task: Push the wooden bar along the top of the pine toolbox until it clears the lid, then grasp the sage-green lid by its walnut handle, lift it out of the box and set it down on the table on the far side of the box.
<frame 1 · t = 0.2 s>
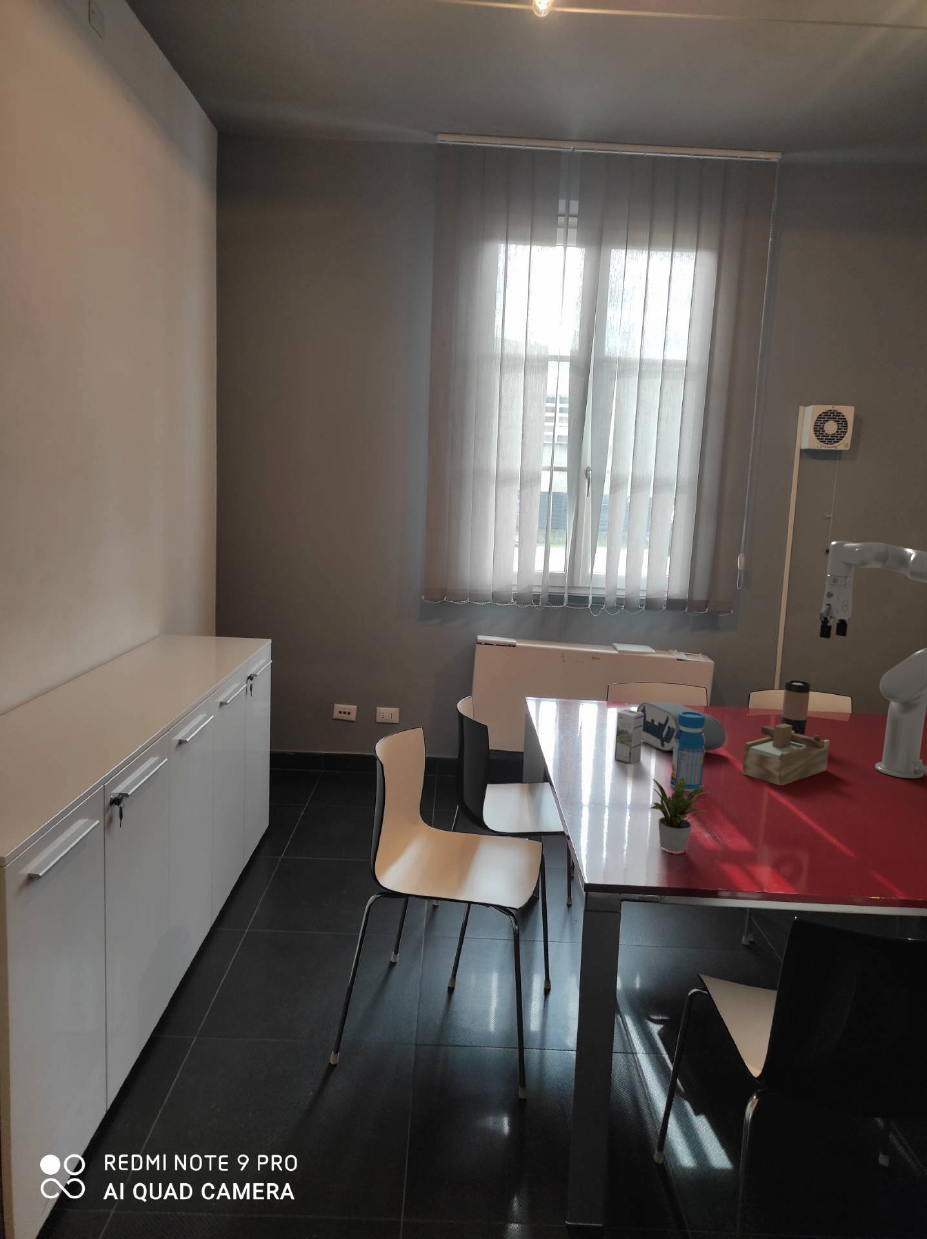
hand: (832, 636, 264), 37 cm above the table, tool pointing down, fingers open, 9 cm apart
wooden bar: (792, 734, 246), point 11 cm above the table, slide at 0.0 cm
syrup box: (627, 760, 251), on the table
house plant: (677, 853, 186), on the table
grey hat: (678, 746, 268), on the table
toolbox: (778, 774, 244), on the table
beverage bottle: (685, 787, 229), on the table
lid: (780, 750, 243), point 7 cm above the table, touching toolbox
travel mug: (791, 743, 277), on the table
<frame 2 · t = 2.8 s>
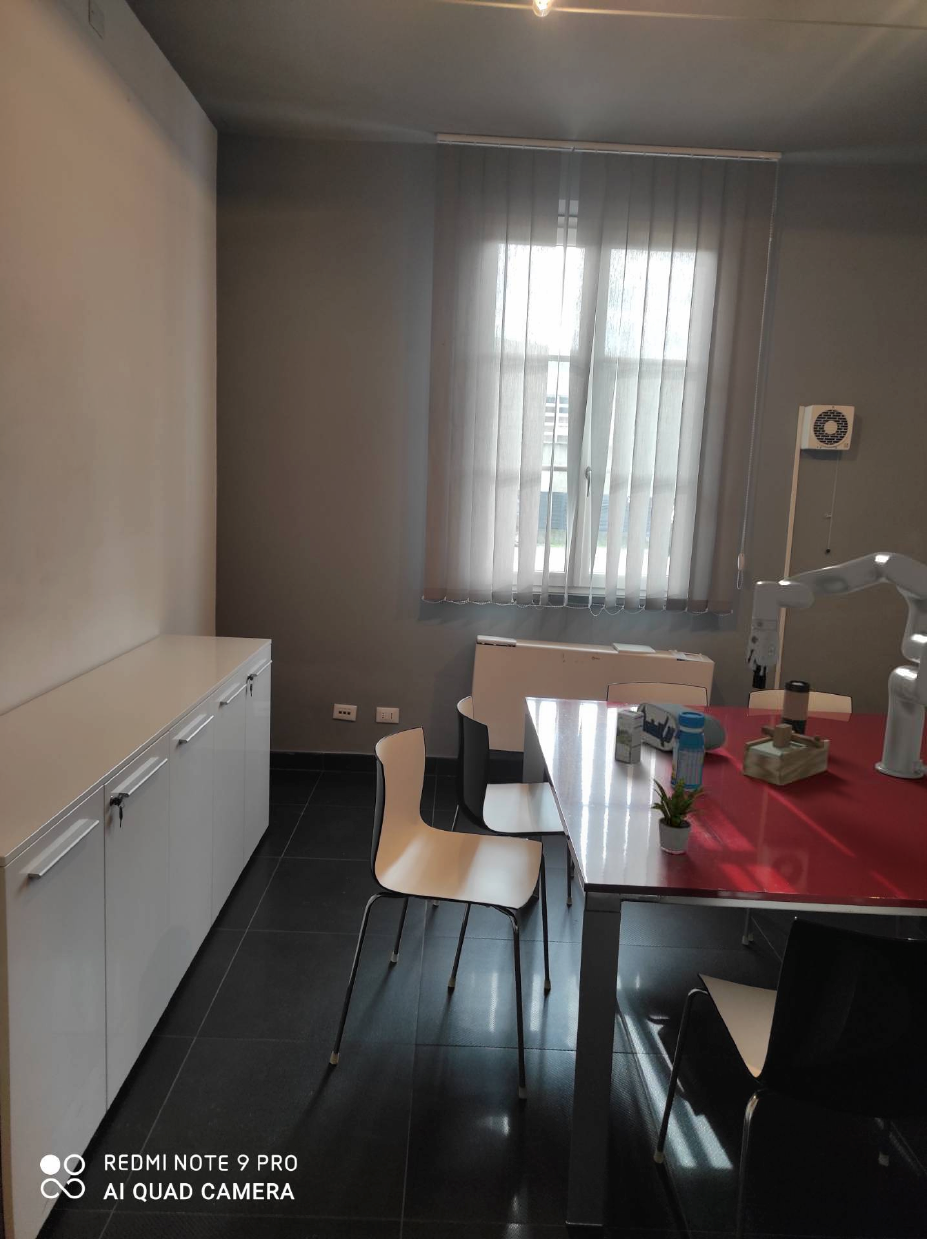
hand: (758, 688, 245), 24 cm above the table, tool pointing down, fingers closed
nothing on the table moved.
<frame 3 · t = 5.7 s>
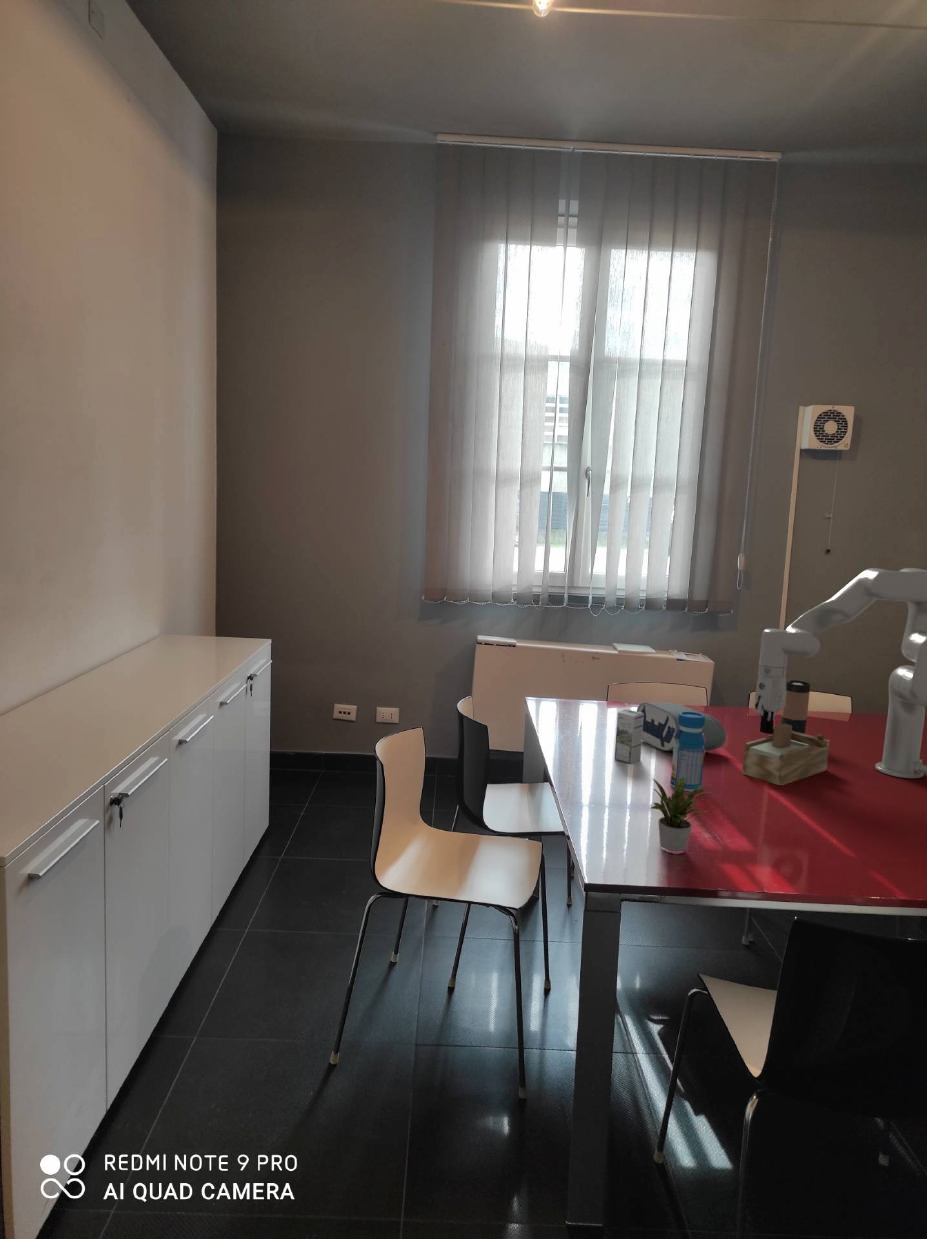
hand: (766, 732, 251), 10 cm above the table, tool pointing down, fingers closed
wooden bar: (795, 734, 247), point 11 cm above the table, slide at 1.6 cm, touching gripper
everything else where it was.
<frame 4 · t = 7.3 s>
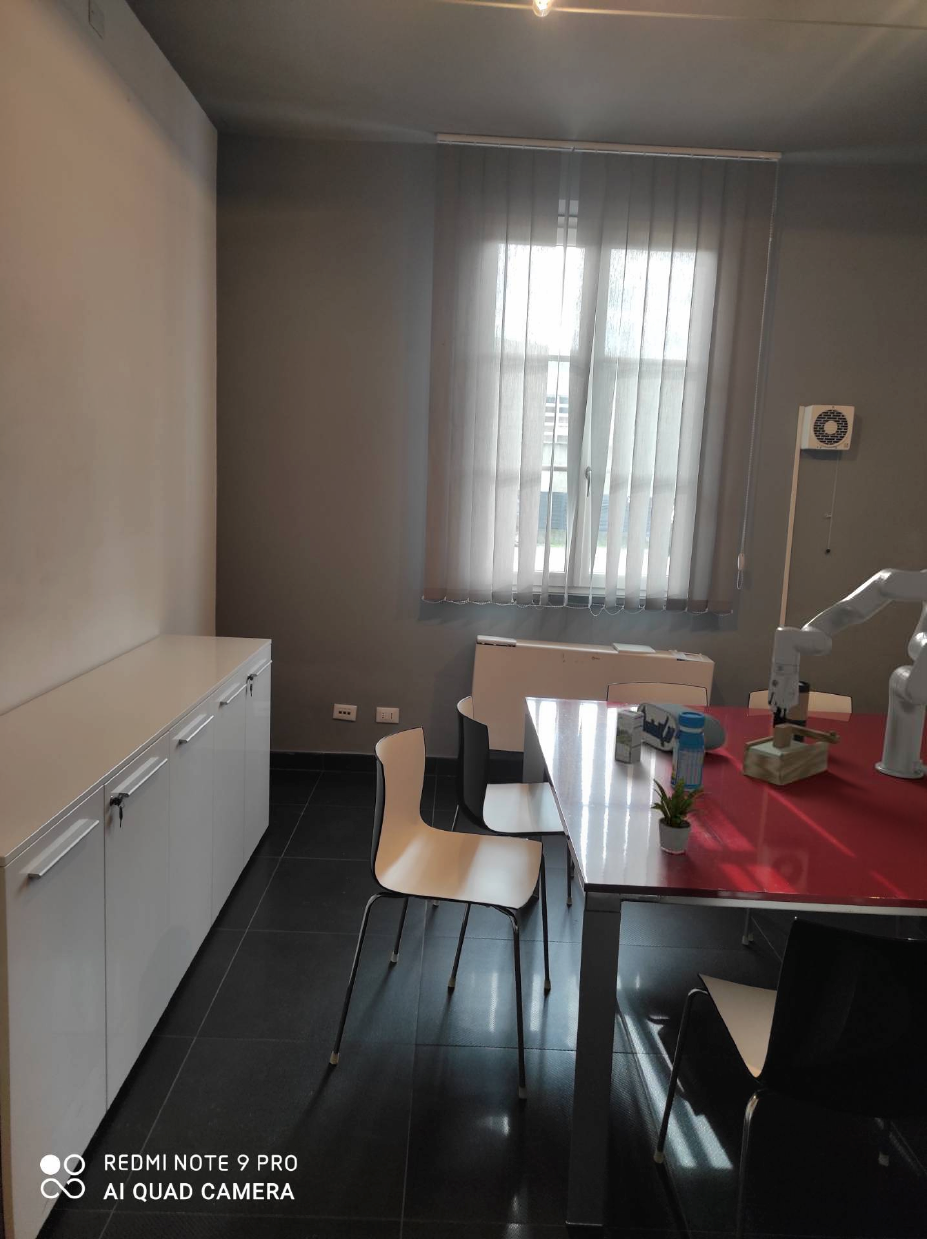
hand: (778, 728, 256), 10 cm above the table, tool pointing down, fingers closed
wooden bar: (807, 730, 252), point 11 cm above the table, slide at 8.8 cm, touching gripper
everything else where it was.
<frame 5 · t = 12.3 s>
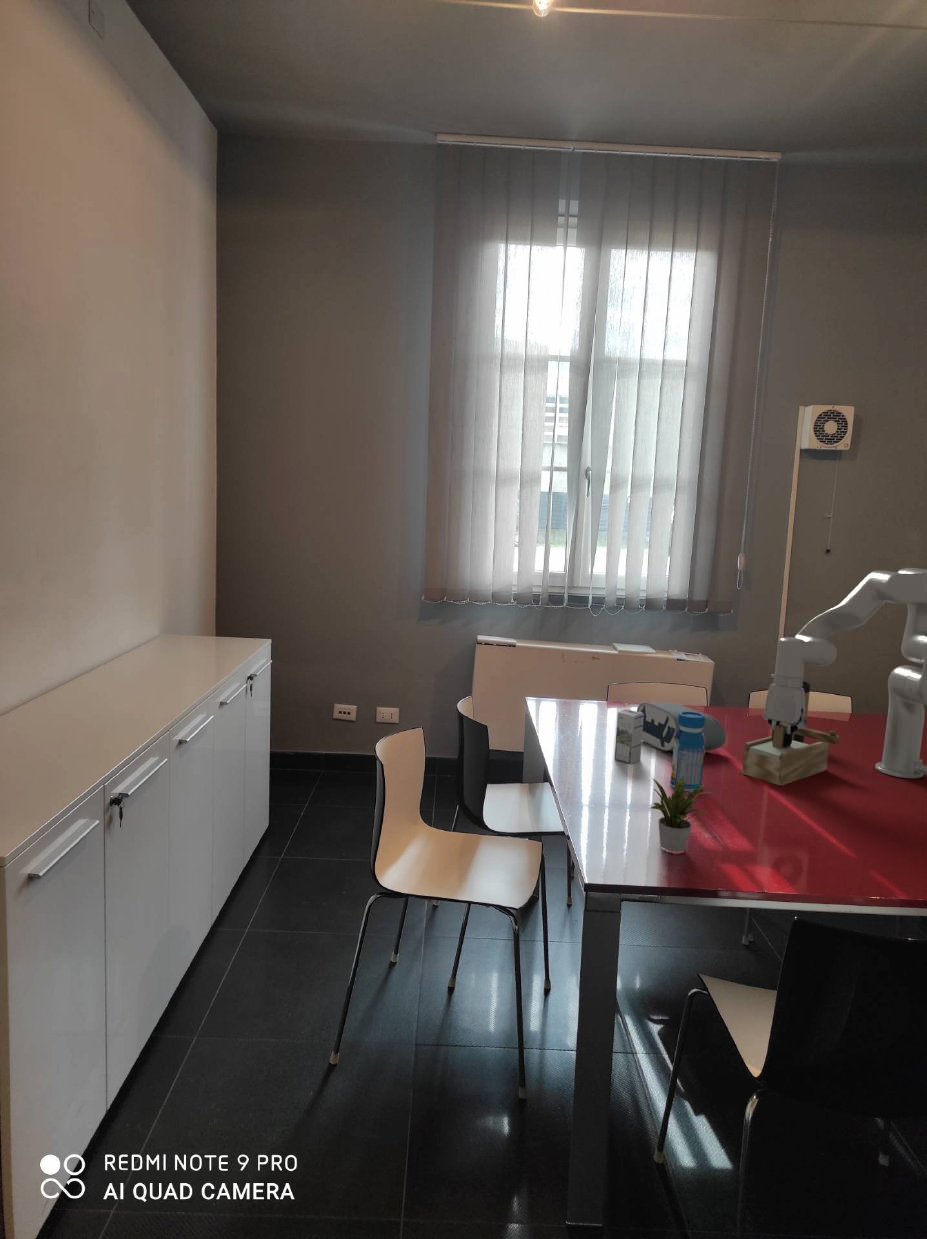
hand: (781, 744, 243), 9 cm above the table, tool pointing down, fingers closed on lid, 2 cm apart
wooden bar: (807, 730, 252), point 11 cm above the table, slide at 8.9 cm
lid: (780, 750, 243), point 7 cm above the table, touching gripper, toolbox
everything else where it was.
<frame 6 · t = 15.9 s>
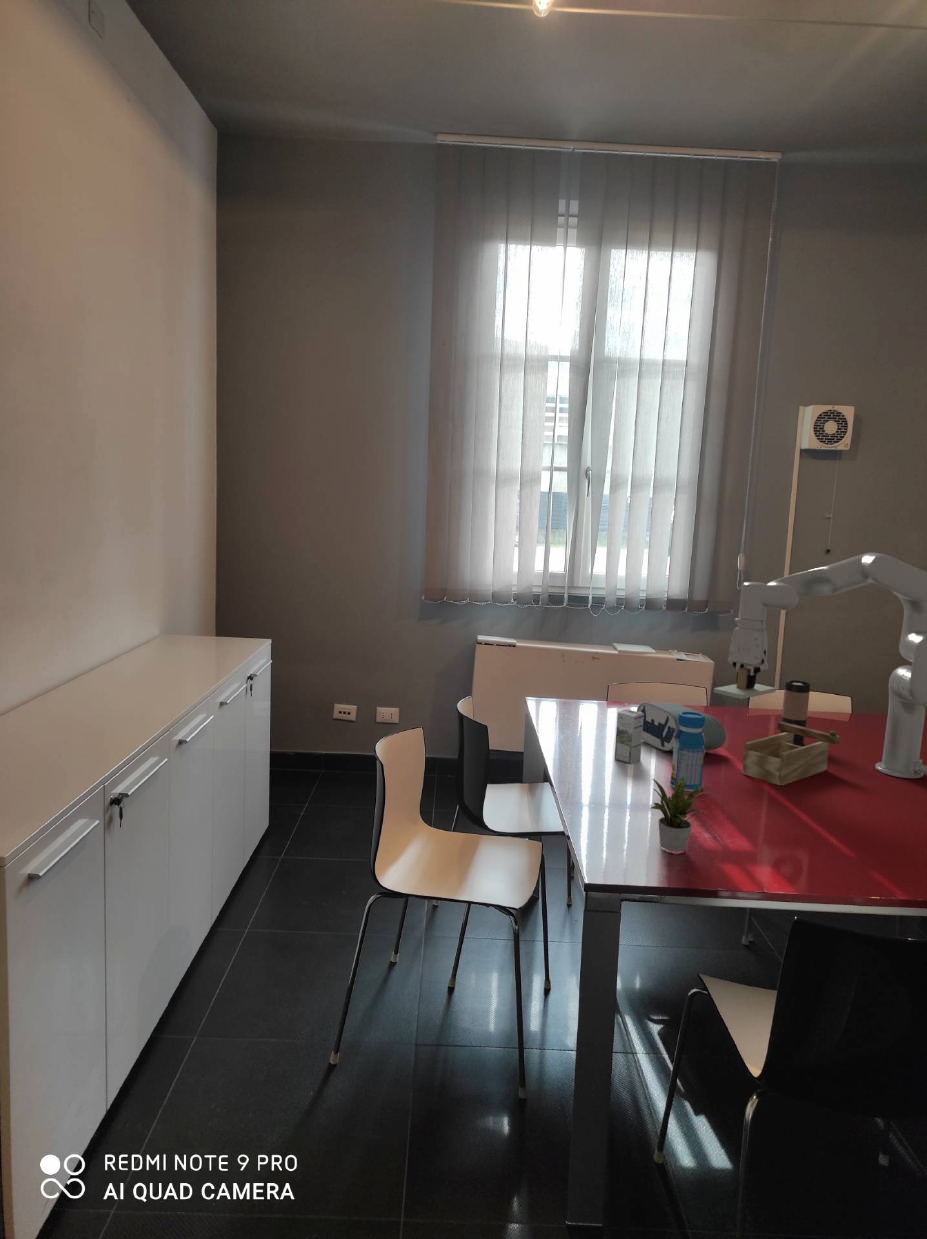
hand: (745, 686, 251), 23 cm above the table, tool pointing down, fingers closed on lid, 2 cm apart
lid: (744, 692, 251), point 21 cm above the table, touching gripper
everything else where it was.
when the fingers open (4 cm above the table, at t = 19.4 s): lid drops 2 cm, on the table.
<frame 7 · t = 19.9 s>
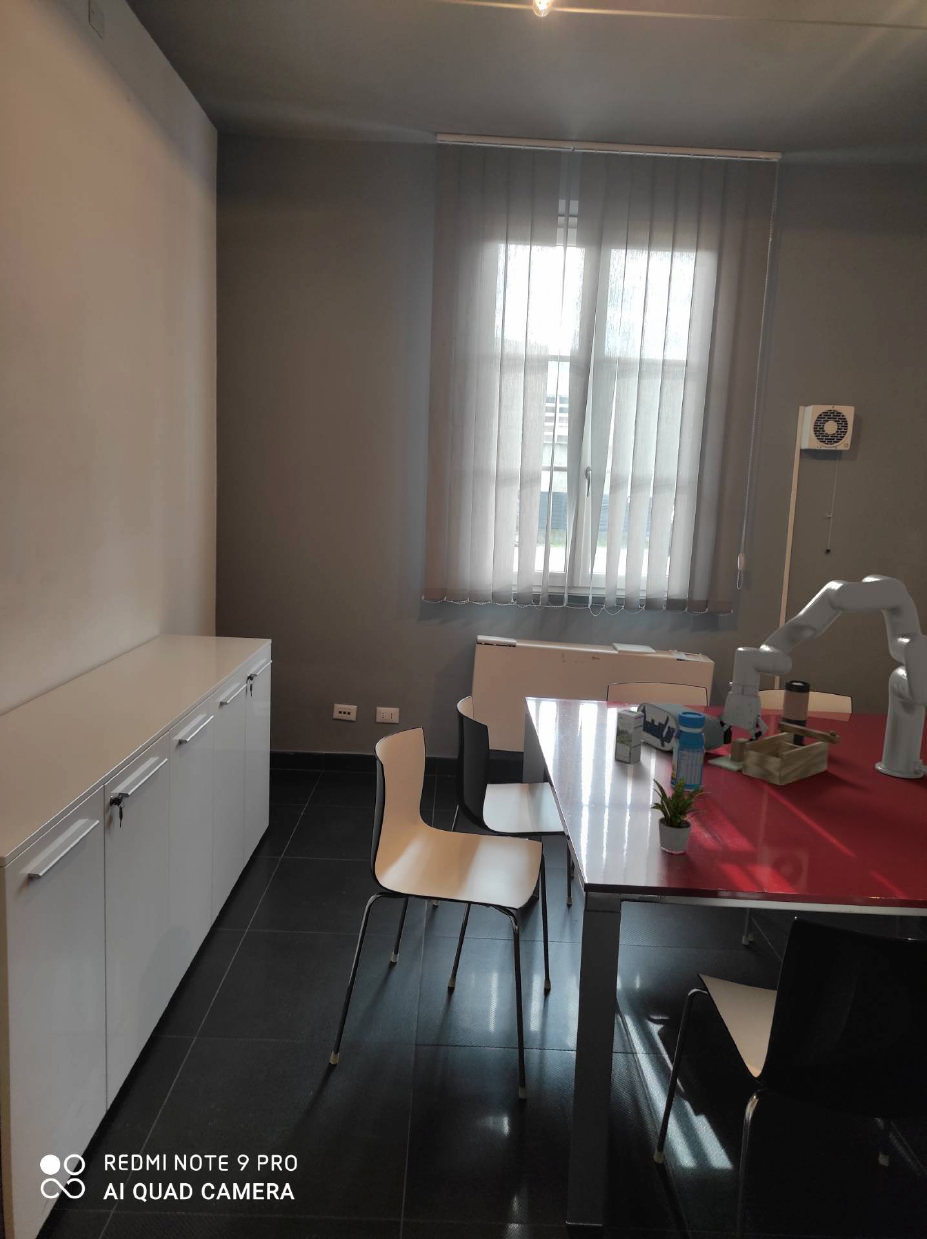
hand: (739, 747, 254), 5 cm above the table, tool pointing down, fingers open, 7 cm apart
lid: (738, 763, 254), on the table
everything else where it was.
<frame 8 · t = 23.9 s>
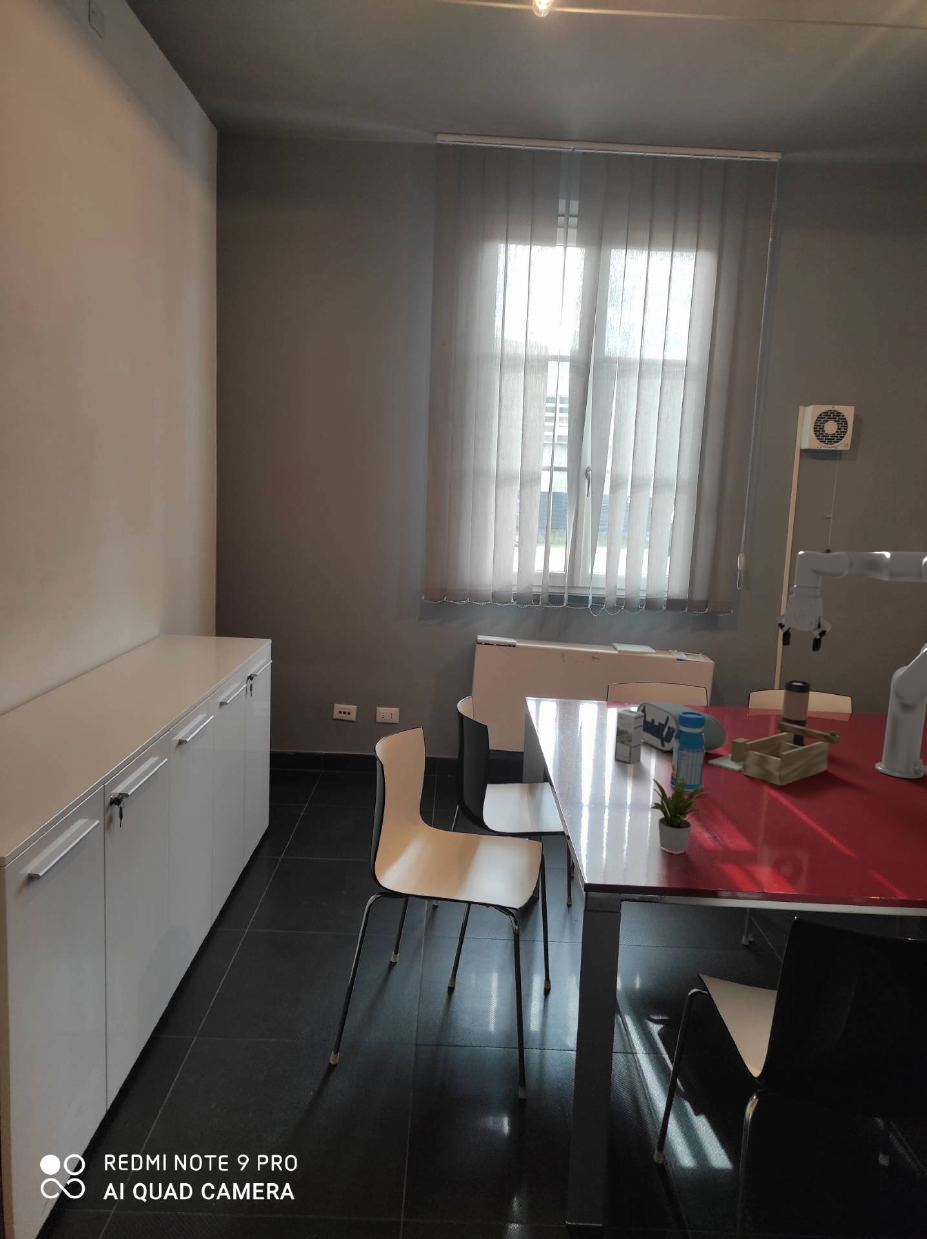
hand: (800, 648, 260), 33 cm above the table, tool pointing down, fingers open, 9 cm apart
nothing on the table moved.
at the end: wooden bar slide at 8.9 cm; lid inside the target area (0.4 cm from its centre), on the table; lid tilted 0° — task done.
